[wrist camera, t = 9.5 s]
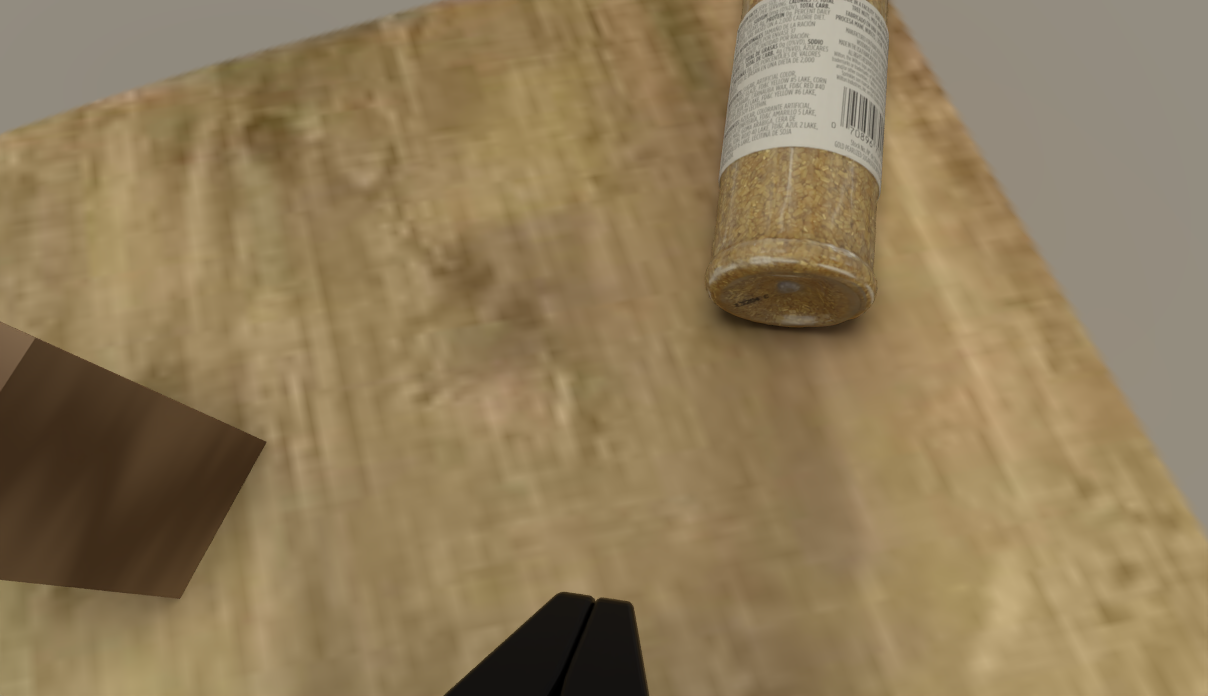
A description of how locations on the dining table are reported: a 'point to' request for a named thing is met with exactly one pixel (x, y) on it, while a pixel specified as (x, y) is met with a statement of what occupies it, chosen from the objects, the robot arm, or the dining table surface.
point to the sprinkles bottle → (801, 163)
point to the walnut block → (106, 475)
